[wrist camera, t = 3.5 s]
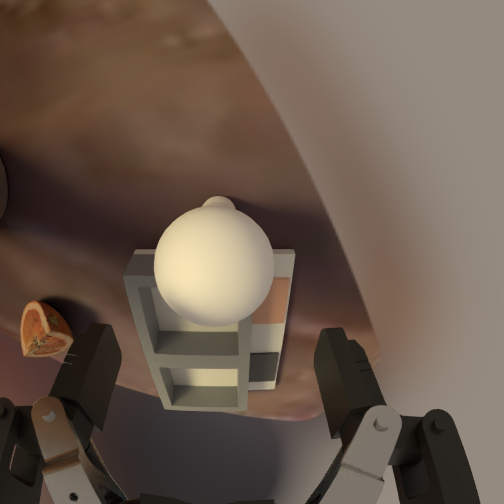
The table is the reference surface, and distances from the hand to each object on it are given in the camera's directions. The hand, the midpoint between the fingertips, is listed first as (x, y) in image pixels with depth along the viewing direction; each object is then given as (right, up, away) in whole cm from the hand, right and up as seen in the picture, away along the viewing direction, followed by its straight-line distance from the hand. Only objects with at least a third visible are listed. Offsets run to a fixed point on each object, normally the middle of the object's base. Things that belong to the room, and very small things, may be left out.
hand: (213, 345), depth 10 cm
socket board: (-2, -5, +18) cm, 18 cm away
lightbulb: (-1, +7, +11) cm, 13 cm away
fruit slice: (-20, -4, +16) cm, 26 cm away
